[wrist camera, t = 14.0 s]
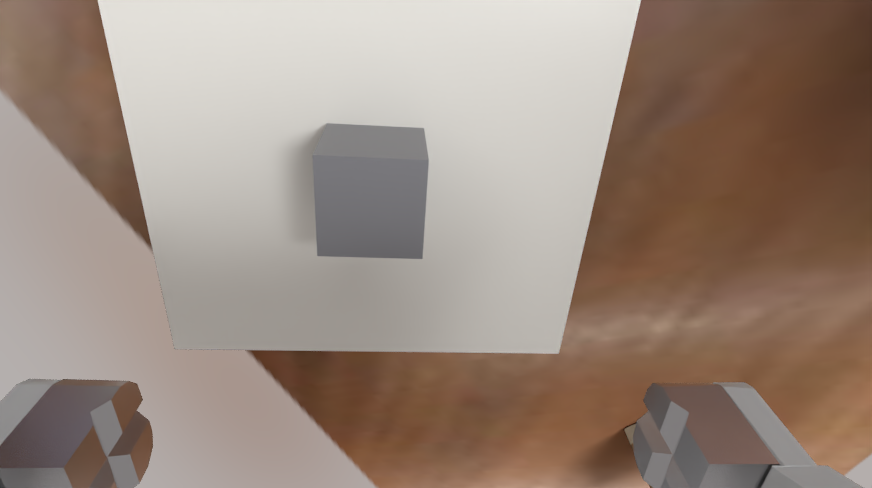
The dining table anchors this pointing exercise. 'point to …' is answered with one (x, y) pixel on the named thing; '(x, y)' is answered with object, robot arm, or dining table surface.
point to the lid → (368, 165)
